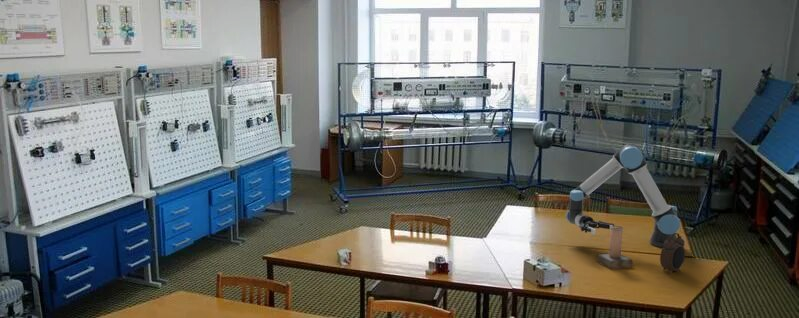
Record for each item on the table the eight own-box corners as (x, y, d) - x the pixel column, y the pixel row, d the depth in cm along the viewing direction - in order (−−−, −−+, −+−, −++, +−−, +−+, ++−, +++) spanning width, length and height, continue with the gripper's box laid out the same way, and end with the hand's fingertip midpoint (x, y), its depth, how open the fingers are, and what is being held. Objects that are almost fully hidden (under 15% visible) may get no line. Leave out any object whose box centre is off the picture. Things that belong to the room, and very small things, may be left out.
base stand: (618, 260, 383) (619, 252, 382) (631, 266, 372) (632, 259, 371) (597, 261, 379) (597, 254, 378) (610, 268, 368) (610, 261, 367)
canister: (616, 254, 379) (618, 225, 376) (623, 258, 373) (624, 228, 370) (606, 255, 377) (608, 226, 374) (613, 258, 371) (614, 229, 369)
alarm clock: (670, 276, 358) (674, 237, 354) (657, 272, 363) (660, 234, 360) (686, 270, 367) (689, 232, 363) (673, 267, 372) (676, 229, 369)
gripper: (603, 226, 407) (625, 236, 387) (564, 229, 399) (585, 239, 379) (604, 213, 406) (626, 222, 386) (565, 216, 398) (586, 225, 378)
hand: (606, 231), depth 383 cm, fingers open, 13 cm apart
